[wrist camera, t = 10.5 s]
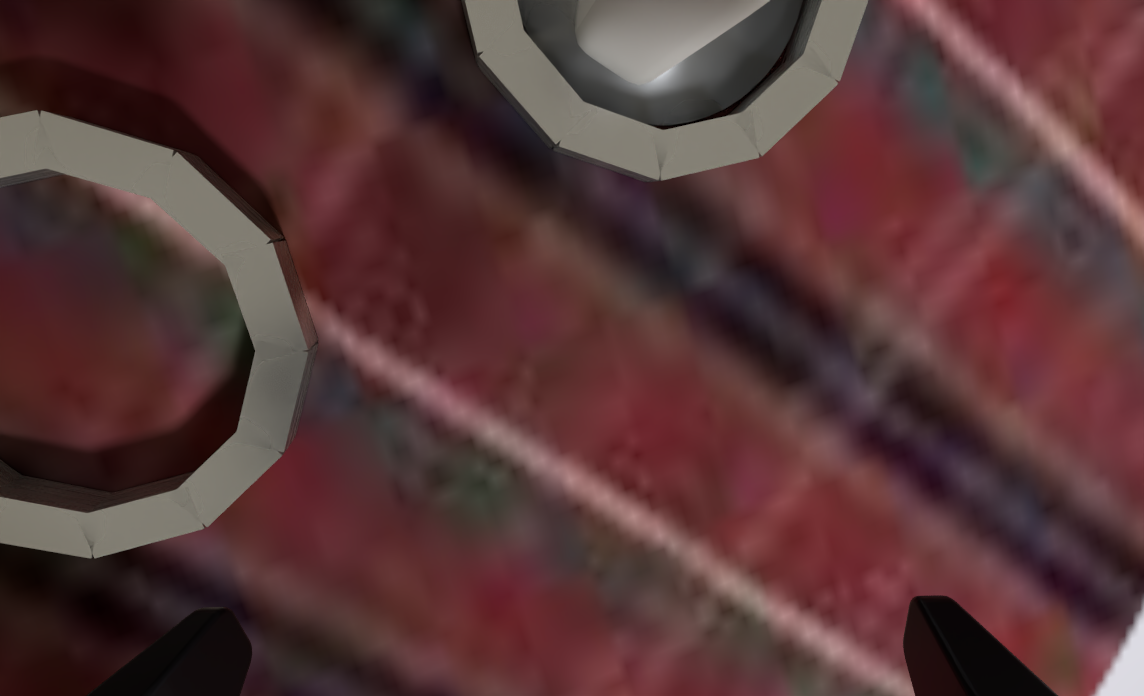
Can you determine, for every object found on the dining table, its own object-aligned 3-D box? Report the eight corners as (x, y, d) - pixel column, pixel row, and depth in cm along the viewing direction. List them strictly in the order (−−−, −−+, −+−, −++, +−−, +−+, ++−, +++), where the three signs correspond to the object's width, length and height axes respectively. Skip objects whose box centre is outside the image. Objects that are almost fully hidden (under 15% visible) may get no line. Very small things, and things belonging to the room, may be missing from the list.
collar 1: (124, 601, 18) (101, 628, 17) (-252, 338, 15) (-311, 348, 14) (394, 342, 18) (390, 351, 17) (60, 26, 15) (27, 12, 14)
